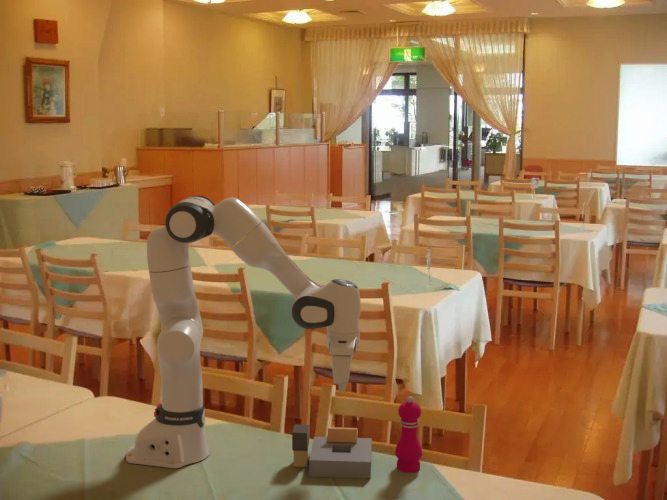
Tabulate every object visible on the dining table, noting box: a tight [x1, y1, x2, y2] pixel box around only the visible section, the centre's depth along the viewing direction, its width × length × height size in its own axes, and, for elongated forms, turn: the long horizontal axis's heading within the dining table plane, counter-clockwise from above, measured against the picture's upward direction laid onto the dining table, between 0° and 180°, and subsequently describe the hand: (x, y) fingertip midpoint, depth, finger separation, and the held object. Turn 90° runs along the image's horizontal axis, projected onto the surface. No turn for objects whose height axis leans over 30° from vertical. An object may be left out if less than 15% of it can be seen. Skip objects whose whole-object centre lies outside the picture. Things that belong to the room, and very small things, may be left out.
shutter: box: [327, 426, 359, 443], centre depth 226 cm, size 8×8×4 cm
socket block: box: [308, 436, 373, 480], centre depth 218 cm, size 16×16×5 cm
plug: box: [291, 423, 310, 468], centre depth 219 cm, size 4×6×10 cm, turn 177°
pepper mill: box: [394, 395, 423, 474], centre depth 216 cm, size 7×7×20 cm
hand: (342, 390), depth 218 cm, fingers closed
